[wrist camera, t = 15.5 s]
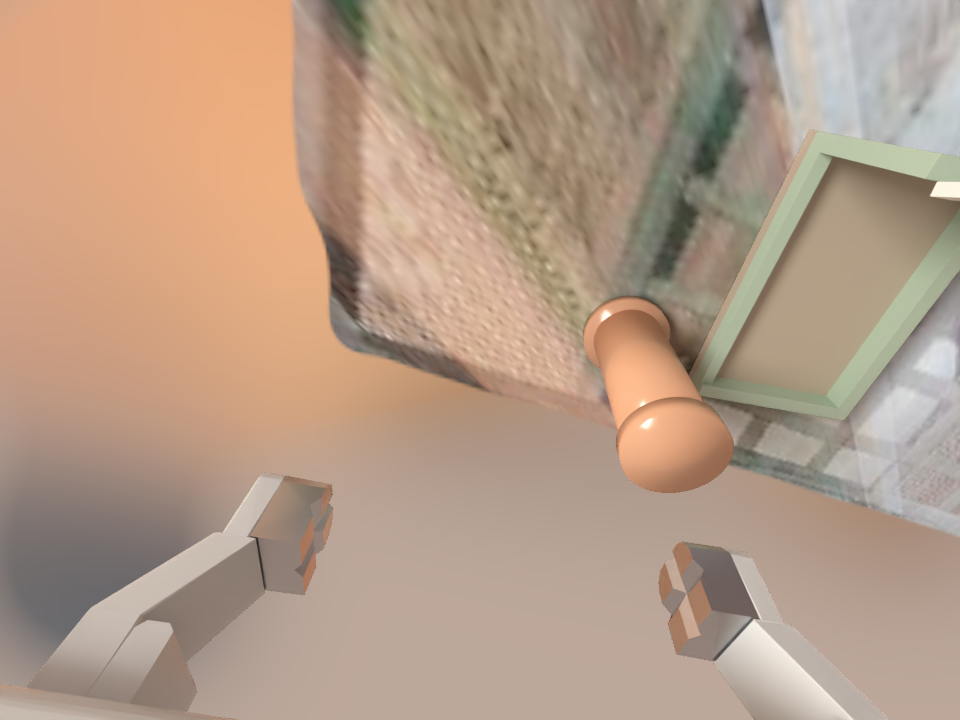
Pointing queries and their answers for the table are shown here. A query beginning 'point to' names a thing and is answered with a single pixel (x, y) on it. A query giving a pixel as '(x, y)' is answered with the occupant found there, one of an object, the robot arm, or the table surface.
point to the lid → (947, 191)
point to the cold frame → (834, 277)
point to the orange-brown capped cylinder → (658, 408)
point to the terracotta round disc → (614, 307)
